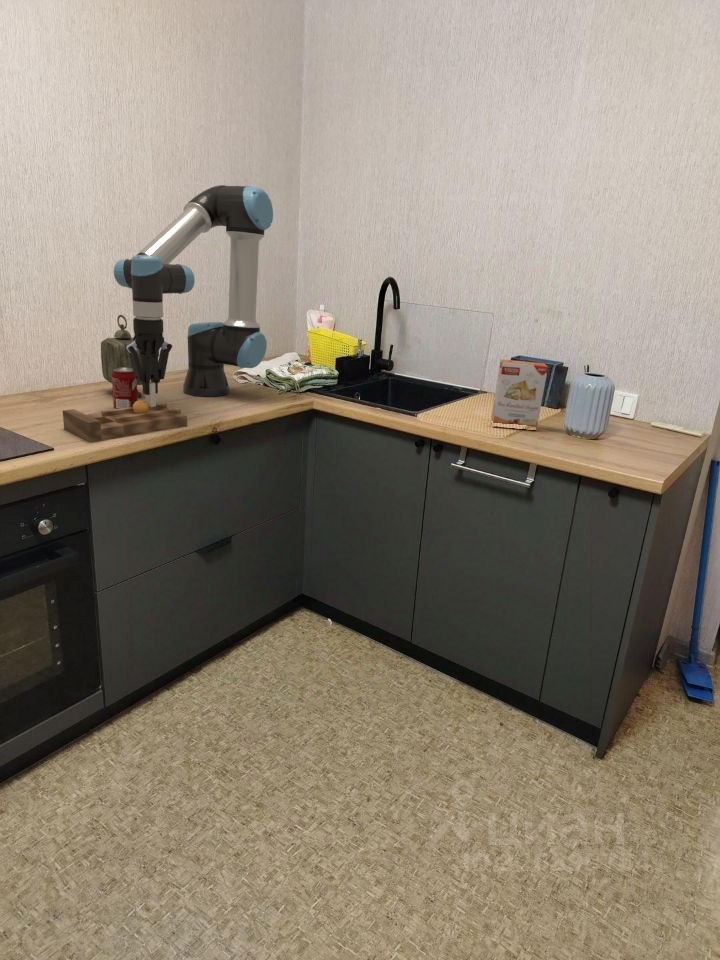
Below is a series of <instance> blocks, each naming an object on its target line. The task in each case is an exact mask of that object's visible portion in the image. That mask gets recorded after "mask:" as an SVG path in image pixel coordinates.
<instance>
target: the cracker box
mask: <svg viewBox="0 0 720 960" xmlns="http://www.w3.org/2000/svg"><path fill="white" fill-rule="evenodd" d="M548 371H549V366H548V365H547V364H546V363H544V362H532V361H524V360H512V359H500V361H499V367H498V373H497V380H496V386H495V393H494V399H493V406H492V412H491V416H490V417H491V419H492V421H493V423H502V424H518V425H527V426H531V427H537V428H538V423H539V419H540V413H541V407H542V402H543V398H544V391H545V387H546V386H545V385H546V381H547V375H548ZM491 419H490V420H491Z"/></svg>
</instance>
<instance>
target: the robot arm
mask: <svg viewBox="0 0 720 960" xmlns="http://www.w3.org/2000/svg"><path fill="white" fill-rule="evenodd" d="M273 221H274V209H273V203H272V200H271V199H270V197H269V194H268V193H267V192H266V191H265V190H264V189H263V188H261V187H255V186H249V185H247V186H246V185H245V186H244V185H243V186H242V185H241V186H240V185H223V184H221V185H215V186H212V187H209V188H206V190H203V191H202V192H200V193H199V194H197V195H196V196H194V197H193V198H191V200H189V201H188V202H187V203H186V204H185V205H184V206H183V212H182V213H180V214H179V215H178V216H177V217H176V218H175V219H174V220H173V221H172V222H171V223H170V224H168V226H166V227H165V228H164V229H163V230H162V231H160V233H158V234H157V235H156V237H154V238H153V239H152V240H151V241H150V242H149V243H147V244H146V245H145V246H144V248H142V249H141V250H140V251H139V252H138V253H137V254H136V255H133V256H132V257H131V259H129V258H125V259H120V260H119V259H118V261H116V263H115V265H114V268H113V276H114V279H115V281H116V283H117V284H118V285H120V286H121V287H124V288H128V289H131V293H132V298H131V299H132V316H134V318H132V323H133V324H132V325H133V326H132V327H133V334H134V335H133V342H132V343H131V344H130V345H126V346H125V349H126V351H127V352H128V353H129V357H130V361H131V364H132V368H133V372H134V376H135V379H136V380H138V381H141V382H142V385H141V386H142V394H143V395H145V402H146V403H147V404H148V406H149V407H156V404H157V400H156V399H157V398H156V397H157V396H156V394H158V393H159V388H158V387H159V383H161V380H165V377H166V371H167V365H168V362H169V361H168V360H169V355H170V352H171V350H172V348H173V344H171V343H168V342H167V341H165V337H164V334H163V333H164V320H163V319H162V318H163V317H164V303H163V301H164V300H163V299H164V294H178V295H179V294H180V295H182V294H186V293H189V292H191V291H192V290H193V288H194V287H195V282H196V279H195V274H194V272H193V270H192V269H191V268H190V267H189V266H187V265H185V264H180V263H179V264H178V263H176V264H171V262H173V261H174V260H175V259H176V258H177V257H178V256H179V255H180V254H181V253H182V252H183V251H184V250H185V249H186V248H187V247H189V246H190V244H191V243H193V242H194V241H195V239H196V238H198V237H199V236H200V235H201V234H202V233H203V234H204V233H207V232H209V231H210V230H211V229H212V228H215V227H225V233H226V234H227V235H228V237H229V239H230V257H229V258H230V260H229V285H228V286H229V287H228V289H229V290H228V316H227V319H226V320H225V321H224V322H223V321H222V322H221V321H220V322H219V321H218V322H217V321H215V322H214V321H213V322H211V321H210V322H209V321H208V322H197V323H191V324H190V325H189V326H188V328H187V329H188V330H187V331H188V332H187V338H186V339H187V353H188V354H187V361H188V363H187V364H188V365H187V366H188V368H187V372H186V375H185V379H184V382H183V385H182V386H183V387H182V388H183V389H182V390H183V392H184V393H185V394H187V395H191V396H196V397H197V396H198V397H220V396H221V397H222V396H226V395H228V394H229V392H230V385H229V383H228V379H227V376H226V372H225V365H226V366H233V367H238V368H240V369H245V368H246V369H253V368H256V367H257V366H258V367H259V365H260V364H261V363H262V361H263V360H264V359H265V355H266V353H267V345H268V343H267V339H266V336H265V334H263V333H261V325H260V324H259V323H258V322H257V320H256V318H257V298H258V297H257V295H258V294H257V293H258V274H259V273H258V270H259V253H260V252H259V250H260V249H259V248H260V247H259V246H260V241H261V240H262V239H263V238H264V237H265V231H266V230H267V229H269V228H270V227H271V226H272V223H273ZM136 347H137V348H138V350H139V354H140V357H141V365H140V361H139V357H138V354H137V352H136V351H137V348H136Z"/></svg>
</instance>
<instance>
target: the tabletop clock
mask: <svg viewBox="0 0 720 960" xmlns="http://www.w3.org/2000/svg"><path fill="white" fill-rule="evenodd" d="M120 318H122V319H123V320H124V323H125V325H124V324H122V323H121V324H120ZM117 326H118V328H120V329H118V330H116V331H115V333H114V335H113V337H107V338H105V339H103V340H102V341H101V342H100V360H101V372H102V377H103V378H104V380H106V381H107V382H108V383H111V384H112V374H113V373H114V369H115V368H132V364H131V361H130V357H129V353H128V352H127V351H126V349H125V346H126V345H130V344H131V343H132V342H133V338H134V336H132V335H131V333H130V332H129V331H128V330H126V329H127V327H128V321H127V319H126V317H125V316H124V315H123V314H118V316H117ZM136 348H137V347H136ZM136 352H137V354H138V357H139V361H140V365H141V357H140V354H139V350H138V348H137V351H136ZM132 369H133V368H132ZM137 386H142V382H141V381H138V380H137ZM142 394H143V392H139V390H138V389H137V398H142V396H143V395H142Z"/></svg>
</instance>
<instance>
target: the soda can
mask: <svg viewBox="0 0 720 960" xmlns="http://www.w3.org/2000/svg"><path fill="white" fill-rule="evenodd" d="M111 385H112V402H113V403H112V405H113V410H115V409H123V408H130V407H133V404H134V403H135V402H136V401H138V398H139V397H137V390H138V385H137V380H136V379H135V376H134V372H133V369H132V368H115V369H114V373H113V374H112V383H111Z"/></svg>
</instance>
